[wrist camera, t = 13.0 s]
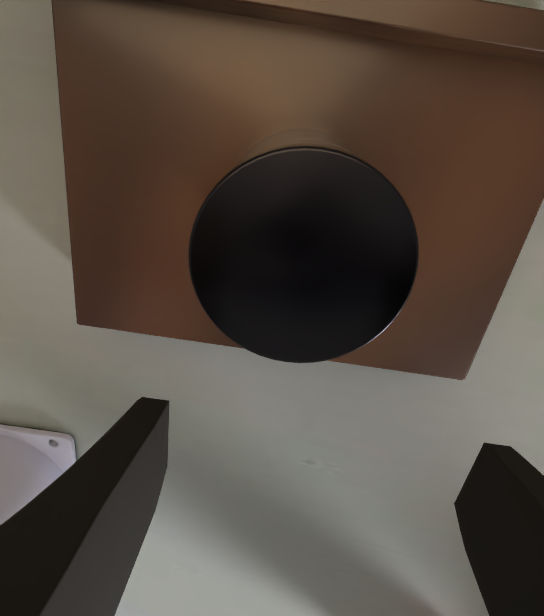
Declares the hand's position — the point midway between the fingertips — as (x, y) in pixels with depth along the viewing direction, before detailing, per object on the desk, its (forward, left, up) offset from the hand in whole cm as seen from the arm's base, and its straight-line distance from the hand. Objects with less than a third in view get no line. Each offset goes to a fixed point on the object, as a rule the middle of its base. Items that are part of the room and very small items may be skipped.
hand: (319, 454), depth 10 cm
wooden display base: (-1, +4, -10) cm, 11 cm away
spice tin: (-1, +4, -7) cm, 8 cm away
